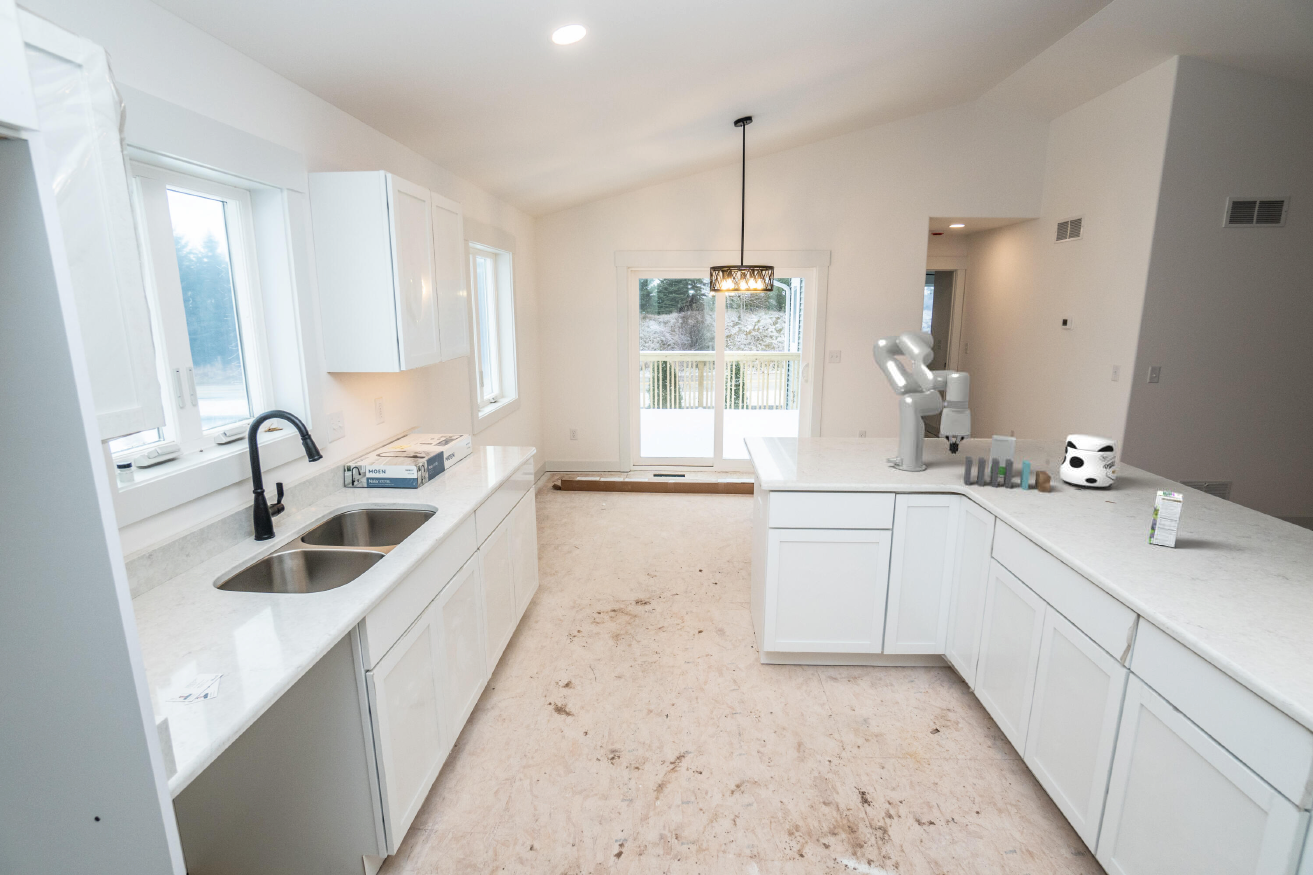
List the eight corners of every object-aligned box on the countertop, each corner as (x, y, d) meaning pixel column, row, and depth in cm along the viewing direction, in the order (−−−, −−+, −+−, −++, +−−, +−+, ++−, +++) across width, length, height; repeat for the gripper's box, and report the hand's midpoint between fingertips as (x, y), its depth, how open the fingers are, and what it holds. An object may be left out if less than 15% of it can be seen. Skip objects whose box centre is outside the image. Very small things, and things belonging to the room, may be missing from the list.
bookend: (1039, 491, 222) (1041, 475, 221) (1034, 485, 229) (1036, 470, 228) (1049, 492, 221) (1050, 476, 220) (1043, 486, 228) (1045, 471, 227)
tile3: (992, 487, 228) (994, 461, 226) (990, 483, 233) (992, 458, 231) (996, 487, 228) (999, 461, 226) (994, 484, 232) (997, 458, 230)
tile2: (978, 486, 230) (980, 460, 228) (976, 482, 235) (979, 457, 233) (983, 486, 229) (985, 460, 227) (981, 483, 234) (983, 457, 232)
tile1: (965, 485, 231) (967, 459, 229) (963, 481, 236) (966, 456, 234) (969, 485, 231) (972, 459, 229) (968, 482, 235) (970, 456, 233)
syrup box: (1148, 538, 176) (1156, 489, 173) (1175, 542, 173) (1183, 493, 170) (1148, 544, 172) (1156, 494, 169) (1175, 548, 168) (1184, 498, 165)
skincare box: (988, 475, 244) (992, 437, 241) (988, 472, 250) (991, 434, 246) (1012, 478, 240) (1016, 439, 237) (1011, 474, 246) (1015, 436, 243)
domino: (1022, 489, 225) (1025, 463, 223) (1019, 485, 230) (1022, 460, 228) (1027, 489, 224) (1030, 463, 222) (1024, 486, 229) (1027, 460, 227)
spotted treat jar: (1124, 492, 220) (1131, 443, 216) (1070, 490, 223) (1076, 442, 220) (1100, 479, 237) (1106, 434, 233) (1050, 477, 240) (1056, 433, 236)
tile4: (1005, 488, 227) (1008, 462, 225) (1003, 484, 231) (1005, 459, 229) (1010, 488, 226) (1013, 462, 224) (1008, 485, 231) (1010, 459, 229)
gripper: (935, 406, 228) (932, 454, 232) (980, 407, 223) (976, 456, 227) (934, 403, 235) (931, 450, 239) (977, 404, 230) (974, 452, 233)
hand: (953, 453), depth 233 cm, fingers closed
